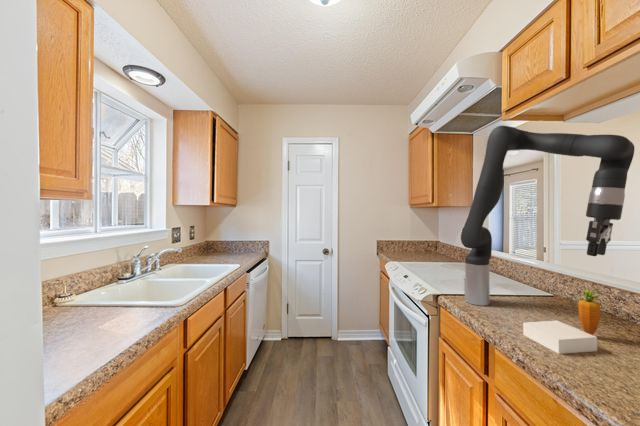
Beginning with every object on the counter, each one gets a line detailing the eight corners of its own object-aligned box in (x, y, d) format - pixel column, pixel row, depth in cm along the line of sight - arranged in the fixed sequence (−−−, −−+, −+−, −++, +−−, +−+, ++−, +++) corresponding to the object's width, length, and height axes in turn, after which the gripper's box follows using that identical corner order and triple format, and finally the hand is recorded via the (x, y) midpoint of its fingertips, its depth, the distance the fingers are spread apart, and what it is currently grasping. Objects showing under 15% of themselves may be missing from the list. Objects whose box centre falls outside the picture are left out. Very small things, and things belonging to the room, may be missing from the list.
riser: (523, 334, 89) (523, 322, 89) (557, 332, 90) (557, 320, 90) (558, 353, 77) (558, 339, 77) (597, 351, 78) (597, 337, 78)
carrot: (589, 333, 89) (588, 287, 89) (605, 340, 84) (604, 291, 84) (574, 333, 89) (573, 287, 89) (589, 340, 84) (589, 292, 84)
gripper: (595, 203, 91) (586, 251, 92) (581, 200, 83) (572, 252, 84) (628, 205, 84) (618, 257, 86) (617, 202, 77) (606, 259, 78)
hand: (595, 255), depth 85 cm, fingers open, 8 cm apart
